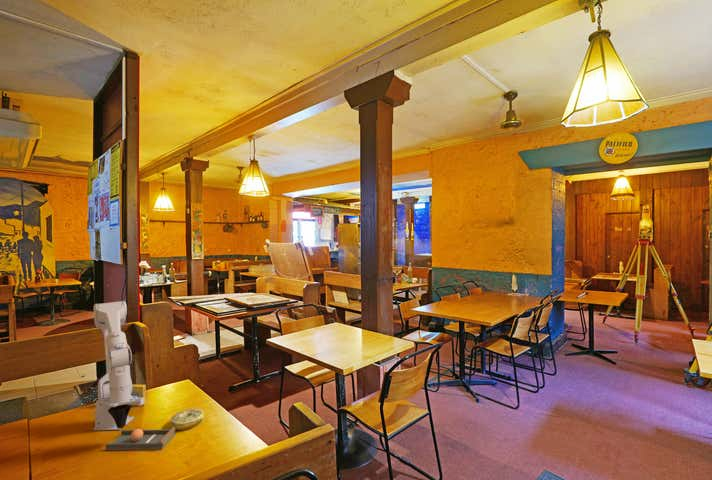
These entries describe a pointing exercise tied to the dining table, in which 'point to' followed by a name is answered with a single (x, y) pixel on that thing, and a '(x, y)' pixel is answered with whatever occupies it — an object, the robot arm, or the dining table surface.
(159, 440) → the lane
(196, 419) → the decorated donut
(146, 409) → the dining table surface
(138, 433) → the ball
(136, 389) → the candy box
